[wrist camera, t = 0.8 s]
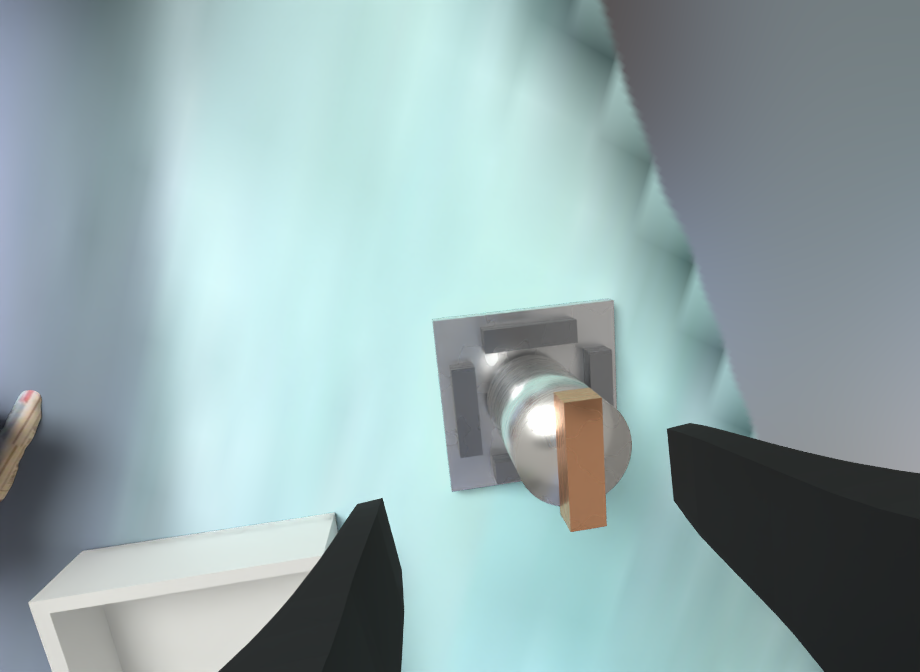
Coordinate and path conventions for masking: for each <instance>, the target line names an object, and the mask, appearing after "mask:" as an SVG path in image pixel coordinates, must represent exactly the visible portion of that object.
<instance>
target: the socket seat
mask: <svg viewBox="0 0 920 672" xmlns="http://www.w3.org/2000/svg"><path fill="white" fill-rule="evenodd" d="M432 324H433V332H434V341H435V350H436V359H437V368H438V377H439V385H440V394H441V403H442V412H443V421H444V430H445V438H446V447H447V456H448V465H449V474H450V483H451V489H452V492H453V491H460V490H466V489H473V488H479V487H486V486H493V485H499V484H506V483H512V482H519V481H522V480H521V478H520V476H519V474H518V472H517V470H516V468H515V466H514V464H513V462H512V460H511V458H510V456H509V453H508V451H507V449H506V447H505V445H504V443H503V441H502V439H501V437H500V435H499V433H498V431H497V429H496V427H495V425H494V423H493V421H492V418H491V416H490V414H489V411H488V405H487V395H488V390H489V386H490V384H491V382H492V380H493V378H494V376H495V375H496V374H497V372H498V371H499V370H500V369H501V368H502V367H503V366H504V365H506V364H507V363H509V362H510V361H512V360H514V359H516V358H519V357H522V356H527V355H540V356H545V357H548V358H551V359H553V360H555V361H556V362H558V363H559V364H560V365H562V366H563V367H564V368H565V369H567V370H568V371H569V372H570V373H572V374H573V375H574V376H576V377H577V378H578V379H579V380H581V381H582V382H583V383H584V384H586V385H587V386H588V387H589V388H591V389H592V390H593V391H594V392H596V393H597V394H598V395H600V396H601V397H602V398H603V399H605V400H606V401H607V402H608V403H610V404H611V405H612V406H613V407H615V408H616V409H617V403H616V368H615V332H614V300H611V299H600V300H591V301H583V302H574V303H566V304H557V305H549V306H540V307H532V308H523V309H514V310H506V311H497V312H489V313H480V314H472V315H463V316H455V317H446V318H438V319H432Z"/></svg>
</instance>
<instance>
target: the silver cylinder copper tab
mask: <svg viewBox="0 0 920 672" xmlns="http://www.w3.org/2000/svg"><path fill="white" fill-rule="evenodd" d="M487 405H488V411H489V414H490V416H491V418H492V421H493V423H494V425H495V427H496V429H497V431H498V433H499V435H500V437H501V439H502V441H503V443H504V445H505V447H506V449H507V451H508V453H509V456H510V458H511V460H512V462H513V464H514V466H515V468H516V470H517V472H518V474H519V476H520V478H521V480H522V482H523V484H524V485H525V487H526V488H527V489H528V490H529V491H530V492H531V493H532V494H533V495H534V496H535V497H537V498H538V499H540V500H542V501H544V502H546V503H548V504H552V505H555V506H560V512H561V516H562V517H563V519H564V521H565V523H566V524H567V526H568V528H569V530H570V531H571V532H574V531H580V530H586V529H592V528H598V527H604V526H607V523H606V493H608V492H609V491H610V490H611V489H612V488H613V487H614V486H615V485H616V484H617V483H618V482H619V480H620V479H621V478H622V476H623V474H624V473H625V471H626V469H627V466H628V464H629V460H630V456H631V450H632V441H631V434H630V430H629V427H628V425H627V423H626V421H625V419H624V417H623V416H622V415H621V414H620V412H619V411H618V410H617V409H616V408H615V407H613V406H612V405H611V404H610V403H608V402H607V401H606V400H605V399H603V398H602V397H601V396H600V395H598V394H597V393H596V392H594V391H593V390H592V389H591V388H589V387H588V386H587V385H586V384H584V383H583V382H582V381H581V380H579V379H578V378H577V377H576V376H574V375H573V374H572V373H570V372H569V371H568V370H567V369H565V368H564V367H563V366H562V365H560V364H559V363H558V362H556V361H555V360H553V359H551V358H548V357H545V356H540V355H527V356H522V357H519V358H516V359H514V360H512V361H510V362H509V363H507V364H506V365H504V366H503V367H502V368H501V369H500V370H499V371H498V372H497V374H496V375H495V376H494V378H493V380H492V382H491V384H490V386H489V390H488V395H487Z"/></svg>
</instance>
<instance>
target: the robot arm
mask: <svg viewBox="0 0 920 672" xmlns="http://www.w3.org/2000/svg"><path fill="white" fill-rule="evenodd" d="M667 434H668V444H669V455H670V465H671V476H672V486H673V497H674V501H675V503H676V504H677V505H678V507H679V508H680V510H681V511H682V512H683V514H684V515H685V517H686V518H687V519H688V521H689V522H690V523H691V525H692V526H693V527H694V528H695V530H696V531H697V532H698V534H699V535H700V536H701V537H702V538H703V539H704V540H705V541H706V542H707V544H708V545H709V546H710V547H711V548H712V549H713V550H714V551H715V552H716V553H717V554H718V555H719V556H720V557H721V558H722V559H723V560H724V561H725V562H726V563H727V564H728V565H729V566H730V568H731V569H732V570H733V571H734V572H735V573H736V574H737V575H738V576H739V577H740V578H741V579H742V580H743V581H744V582H745V583H746V584H747V585H748V586H749V587H750V588H751V589H752V590H753V591H754V592H755V593H756V594H757V595H758V596H759V597H760V598H761V599H762V600H763V601H764V602H765V604H766V605H767V606H768V607H769V608H770V609H771V610H772V611H773V612H774V613H775V614H776V615H777V616H778V617H779V618H780V619H781V620H782V622H783V623H784V624H785V625H786V626H787V627H788V628H789V629H790V630H791V632H792V633H793V634H794V635H795V636H796V637H797V639H798V640H799V641H800V642H801V644H802V645H803V646H804V647H805V649H806V650H807V651H808V652H809V653H810V655H811V656H812V657H813V658H814V660H815V661H816V662H817V663H818V664H819V666H820V667H821V668H822V669H823V671H824V672H920V473H912V472H906V471H899V470H892V469H887V468H881V467H875V466H870V465H864V464H858V463H853V462H848V461H843V460H838V459H833V458H829V457H825V456H820V455H816V454H812V453H807V452H803V451H799V450H795V449H791V448H787V447H783V446H779V445H776V444H771V443H768V442H764V441H761V440H757V439H753V438H750V437H746V436H742V435H739V434H735V433H731V432H728V431H724V430H720V429H716V428H712V427H708V426H703V425H698V424H692V423H689V424H685V425H680V426H676V427H672V428H668V429H667ZM403 626H404V600H403V583H402V569H401V566H400V562H399V558H398V554H397V551H396V547H395V543H394V540H393V536H392V532H391V528H390V525H389V521H388V517H387V513H386V510H385V506H384V502H383V499H382V498H381V499H377V500H372V501H368V502H364V503H360V504H357V505H356V507H355V508H354V509H353V511H352V512H351V514H350V515H349V517H348V518H347V520H346V521H345V523H344V524H343V526H342V527H341V529H340V530H339V532H338V533H337V535H336V536H335V538H334V539H333V541H332V542H331V544H330V545H329V547H328V548H327V549H326V551H325V552H324V554H323V555H322V556H321V558H320V559H319V561H318V562H317V564H316V565H315V566H314V567H313V569H312V570H311V571H310V573H309V574H308V575H307V576H306V578H305V579H304V580H303V582H302V583H301V584H300V585H299V587H298V588H297V589H296V591H295V592H294V593H293V594H292V596H291V597H290V598H289V599H288V600H287V602H286V603H285V604H284V605H283V606H282V607H281V609H280V610H279V611H278V612H277V613H276V614H275V615H274V616H273V617H272V619H271V620H270V621H269V622H268V623H267V624H266V625H265V626H264V627H263V628H262V629H261V630H260V631H259V633H258V634H257V635H256V636H255V637H254V638H253V639H252V640H251V641H250V642H249V643H248V644H247V645H246V646H245V647H244V648H243V649H241V650H240V651H239V652H238V653H237V654H236V655H235V656H234V657H233V658H232V659H231V660H230V661H229V662H228V663H227V664H226V665H225V666H224V667H222V668H221V669H220V670H219V671H218V672H401V662H402V645H403Z"/></svg>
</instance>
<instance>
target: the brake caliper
mask: <svg viewBox="0 0 920 672" xmlns="http://www.w3.org/2000/svg"><path fill="white" fill-rule="evenodd" d="M41 401H42V399H41V396H40V394H39V393H38V392H36V391H32V390H28V391H24V392H22V393H21V394H20V395H19V397H18V399H17V401H16V403H15V405H14V407H13V409H12V411H11V412H10V414H9V416H8V418H7V420H6V424H5V427H4V428H3V429H1V430H0V502H1V501H2V500H3V499H4V498H5V496H6V495H7V493H8V491H9V490H10V488H11V486H12V484H13V482H14V478H15V476H16V473H17V471H18V464H19V461H20V460H21V458H22V456H23V454H24V451H25V448H26V447H27V446H28V445H29V444H30V442H31V441H32V439H33V437H34V435H35V433H36V430H37V427H38V424H39V421H40V419H41Z"/></svg>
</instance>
